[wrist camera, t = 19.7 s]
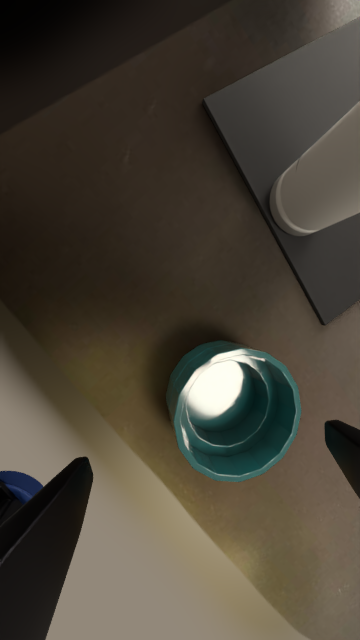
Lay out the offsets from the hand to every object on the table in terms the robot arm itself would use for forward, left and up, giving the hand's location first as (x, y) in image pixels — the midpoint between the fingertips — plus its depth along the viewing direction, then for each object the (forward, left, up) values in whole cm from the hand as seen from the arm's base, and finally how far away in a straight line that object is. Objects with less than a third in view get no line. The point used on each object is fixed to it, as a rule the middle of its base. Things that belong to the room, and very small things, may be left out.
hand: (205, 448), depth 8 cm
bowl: (+3, -5, -12) cm, 14 cm away
